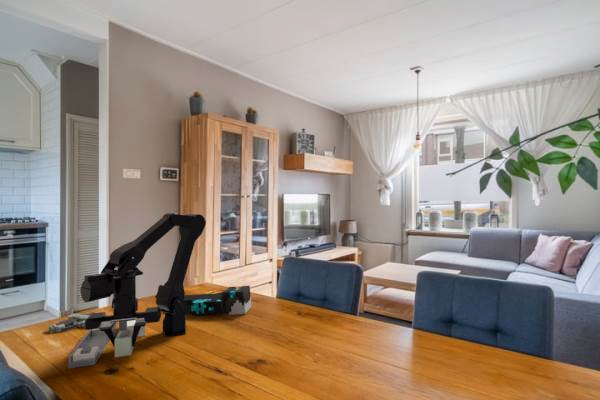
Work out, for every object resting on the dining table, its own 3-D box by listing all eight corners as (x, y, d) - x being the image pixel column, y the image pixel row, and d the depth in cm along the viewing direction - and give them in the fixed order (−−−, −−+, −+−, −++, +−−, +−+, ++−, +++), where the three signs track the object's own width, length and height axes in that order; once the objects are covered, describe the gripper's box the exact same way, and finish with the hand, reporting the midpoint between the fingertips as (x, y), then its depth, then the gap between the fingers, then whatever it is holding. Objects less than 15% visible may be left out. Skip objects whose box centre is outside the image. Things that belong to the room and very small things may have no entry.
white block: (138, 325, 113) (138, 314, 113) (131, 331, 108) (131, 319, 108) (126, 326, 112) (126, 314, 112) (119, 332, 108) (119, 319, 107)
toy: (182, 288, 138) (252, 283, 134) (184, 307, 138) (254, 303, 134) (162, 299, 123) (240, 294, 119) (164, 321, 123) (242, 317, 119)
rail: (114, 332, 107) (114, 321, 107) (95, 364, 86) (94, 351, 86) (93, 334, 105) (93, 324, 105) (68, 368, 84) (68, 355, 84)
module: (134, 346, 97) (134, 327, 97) (130, 355, 91) (130, 335, 91) (119, 348, 96) (119, 329, 96) (114, 357, 90) (114, 337, 90)
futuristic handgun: (87, 331, 103) (124, 313, 117) (41, 325, 107) (82, 309, 122) (87, 340, 103) (124, 321, 117) (41, 334, 108) (82, 316, 122)
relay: (144, 330, 109) (143, 318, 109) (144, 336, 104) (144, 323, 104) (127, 333, 106) (126, 321, 106) (127, 339, 102) (127, 326, 102)
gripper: (162, 283, 104) (162, 332, 104) (95, 288, 98) (95, 340, 98) (159, 292, 94) (159, 347, 94) (83, 299, 88) (83, 357, 88)
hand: (125, 347), depth 94 cm, fingers open, 4 cm apart
